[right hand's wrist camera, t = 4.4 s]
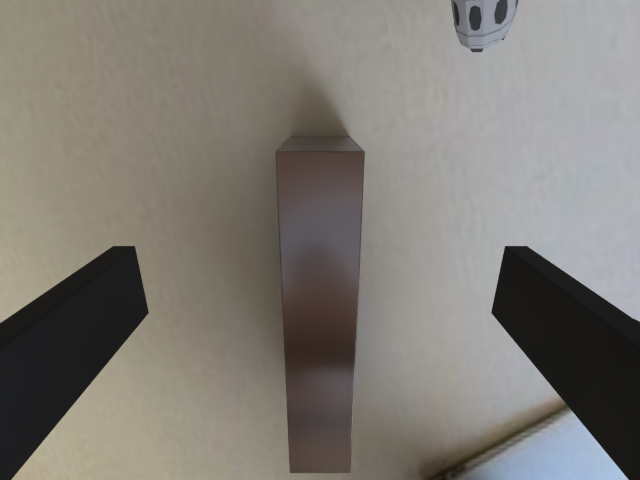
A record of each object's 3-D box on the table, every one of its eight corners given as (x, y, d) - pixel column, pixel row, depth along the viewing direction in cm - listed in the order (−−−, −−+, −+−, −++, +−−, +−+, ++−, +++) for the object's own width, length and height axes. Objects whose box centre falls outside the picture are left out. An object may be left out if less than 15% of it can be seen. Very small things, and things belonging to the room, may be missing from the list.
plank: (289, 136, 29) (275, 151, 20) (350, 136, 29) (364, 151, 20) (297, 383, 38) (289, 473, 29) (342, 383, 38) (350, 473, 29)
